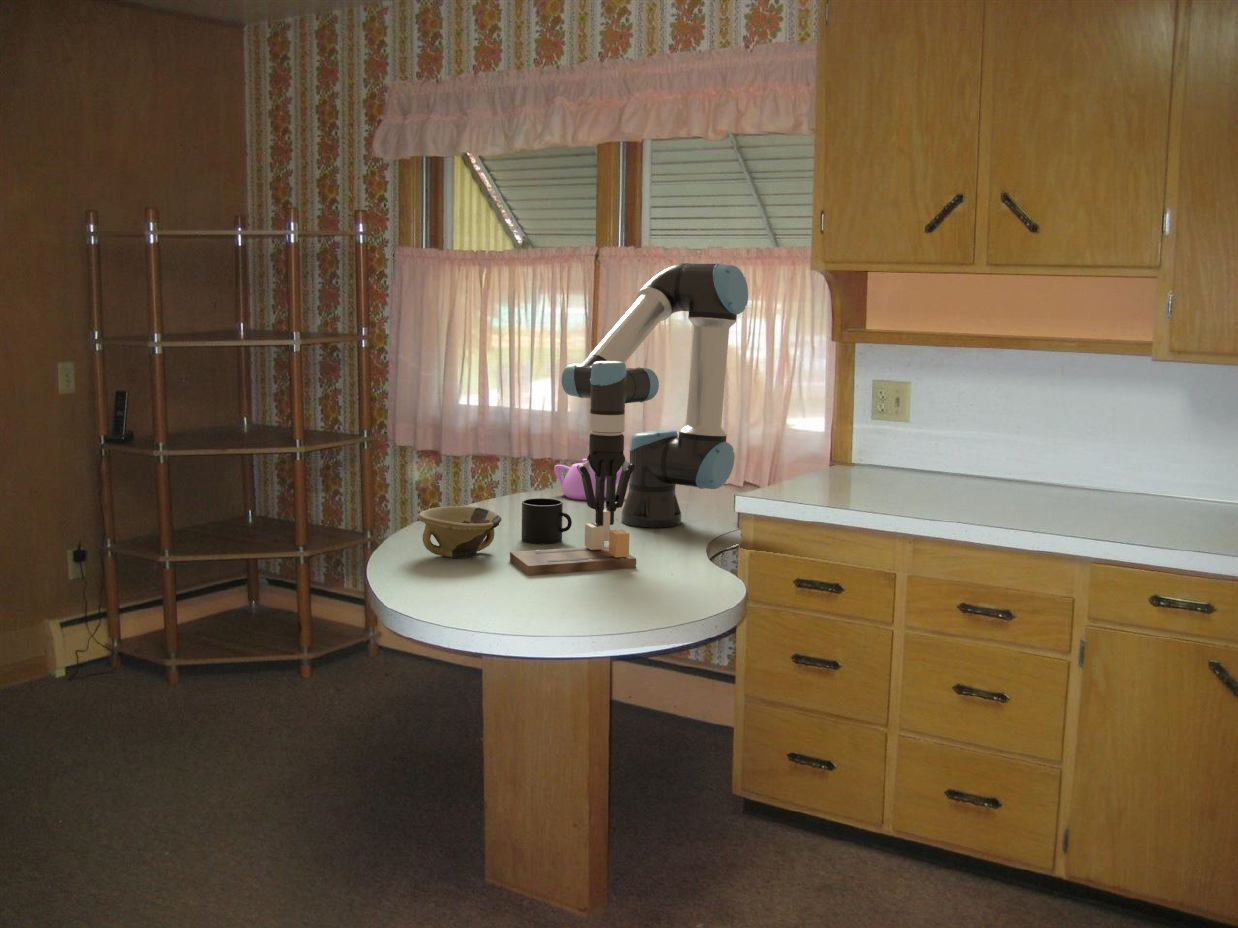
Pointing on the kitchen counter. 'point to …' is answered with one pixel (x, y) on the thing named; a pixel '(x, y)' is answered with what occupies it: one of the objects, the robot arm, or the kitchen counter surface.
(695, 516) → the kitchen counter surface
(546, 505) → the mug
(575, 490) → the teapot
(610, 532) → the orange fader knob
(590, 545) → the cream fader knob
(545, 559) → the console board
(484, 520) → the bowl
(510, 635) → the kitchen counter surface
